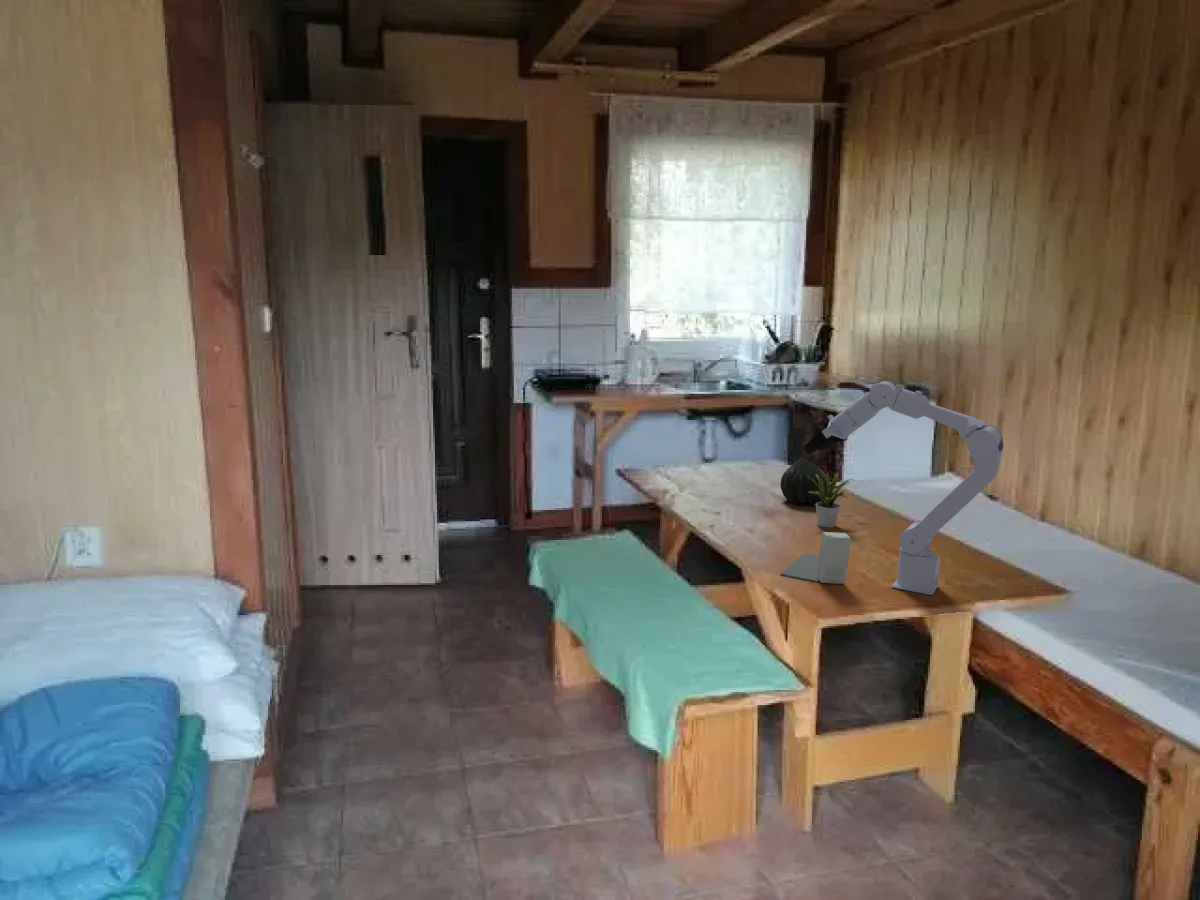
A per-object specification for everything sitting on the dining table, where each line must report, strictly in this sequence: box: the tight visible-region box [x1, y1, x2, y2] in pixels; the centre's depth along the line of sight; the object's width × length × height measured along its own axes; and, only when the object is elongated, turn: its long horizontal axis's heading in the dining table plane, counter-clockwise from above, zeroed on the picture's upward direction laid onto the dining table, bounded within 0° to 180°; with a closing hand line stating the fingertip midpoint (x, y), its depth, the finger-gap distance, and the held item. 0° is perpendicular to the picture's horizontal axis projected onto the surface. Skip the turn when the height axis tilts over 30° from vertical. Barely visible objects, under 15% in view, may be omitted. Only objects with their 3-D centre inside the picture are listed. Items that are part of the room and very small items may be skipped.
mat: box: [779, 552, 820, 583], centre depth 239 cm, size 10×20×1 cm, turn 151°
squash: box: [780, 457, 827, 506], centre depth 303 cm, size 14×15×15 cm
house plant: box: [808, 470, 853, 528], centre depth 275 cm, size 14×14×16 cm
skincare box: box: [817, 531, 852, 585], centre depth 228 cm, size 6×4×12 cm
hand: (812, 449), depth 235 cm, fingers open, 7 cm apart
